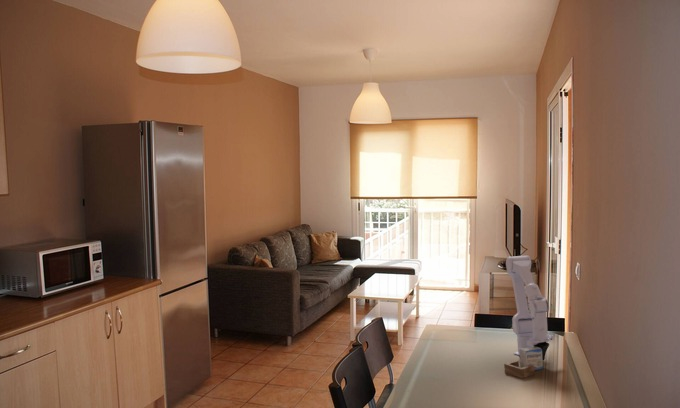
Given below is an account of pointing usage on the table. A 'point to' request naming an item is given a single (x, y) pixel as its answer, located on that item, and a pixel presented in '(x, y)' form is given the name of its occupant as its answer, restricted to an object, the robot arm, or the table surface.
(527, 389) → the table surface
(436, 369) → the table surface
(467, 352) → the table surface
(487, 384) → the table surface
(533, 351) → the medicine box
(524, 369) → the open wooden box
